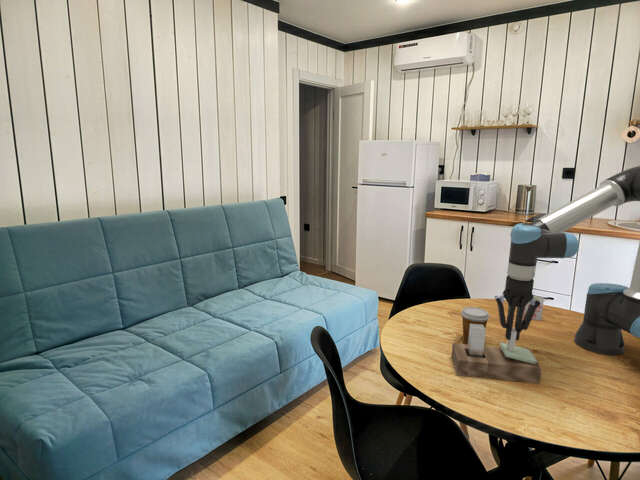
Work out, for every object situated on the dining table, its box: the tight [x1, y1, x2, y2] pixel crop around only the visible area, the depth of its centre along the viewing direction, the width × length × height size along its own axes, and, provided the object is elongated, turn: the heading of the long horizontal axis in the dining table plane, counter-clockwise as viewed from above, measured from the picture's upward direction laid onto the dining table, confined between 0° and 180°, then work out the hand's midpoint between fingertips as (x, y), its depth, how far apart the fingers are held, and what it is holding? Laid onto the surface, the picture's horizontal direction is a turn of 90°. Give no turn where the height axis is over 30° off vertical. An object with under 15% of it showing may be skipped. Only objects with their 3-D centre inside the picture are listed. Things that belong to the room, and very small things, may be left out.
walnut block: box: [451, 342, 543, 385], centre depth 132 cm, size 24×12×5 cm, turn 80°
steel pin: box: [467, 324, 487, 358], centre depth 132 cm, size 4×4×14 cm
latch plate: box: [499, 341, 539, 365], centre depth 130 cm, size 10×8×1 cm
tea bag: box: [522, 295, 545, 322], centre depth 173 cm, size 4×7×10 cm, turn 66°
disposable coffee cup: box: [460, 306, 490, 344], centre depth 150 cm, size 10×10×12 cm
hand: (510, 348), depth 130 cm, fingers closed
